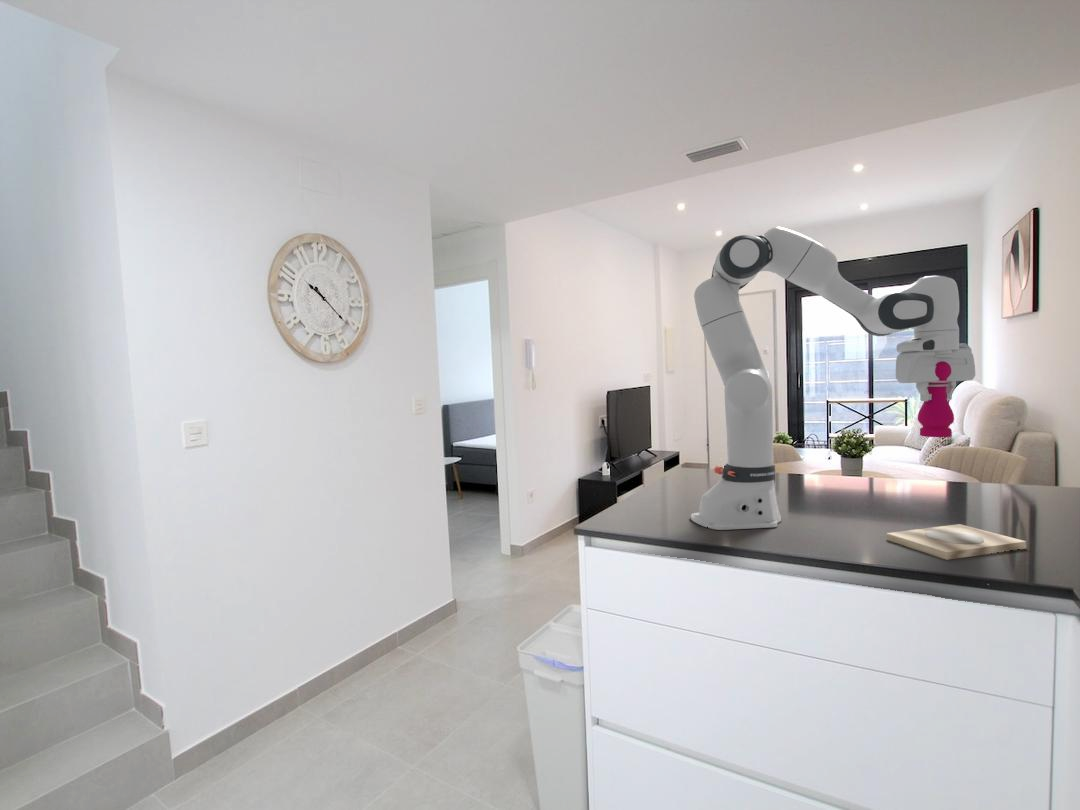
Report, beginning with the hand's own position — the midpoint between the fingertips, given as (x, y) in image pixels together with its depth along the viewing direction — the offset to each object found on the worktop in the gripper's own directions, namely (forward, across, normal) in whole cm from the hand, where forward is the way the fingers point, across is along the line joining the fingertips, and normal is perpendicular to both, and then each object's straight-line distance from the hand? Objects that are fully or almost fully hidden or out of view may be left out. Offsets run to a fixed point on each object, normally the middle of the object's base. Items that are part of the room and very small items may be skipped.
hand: (935, 400), depth 133 cm
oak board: (+29, +14, +16) cm, 36 cm away
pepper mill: (+9, 0, 0) cm, 9 cm away
